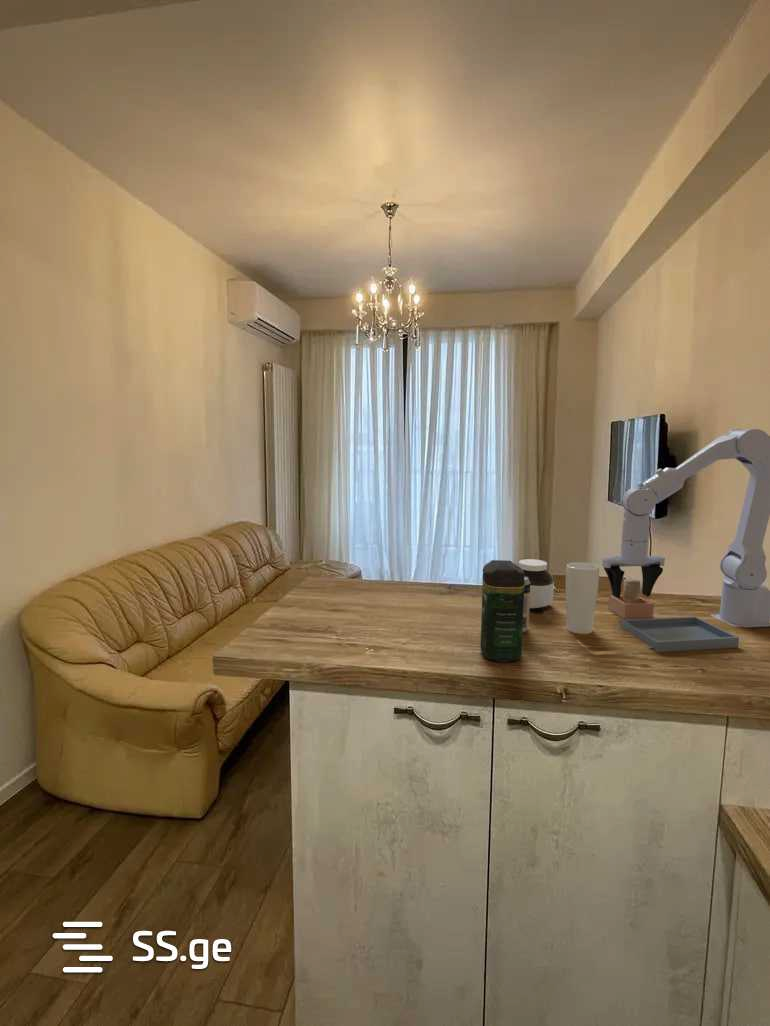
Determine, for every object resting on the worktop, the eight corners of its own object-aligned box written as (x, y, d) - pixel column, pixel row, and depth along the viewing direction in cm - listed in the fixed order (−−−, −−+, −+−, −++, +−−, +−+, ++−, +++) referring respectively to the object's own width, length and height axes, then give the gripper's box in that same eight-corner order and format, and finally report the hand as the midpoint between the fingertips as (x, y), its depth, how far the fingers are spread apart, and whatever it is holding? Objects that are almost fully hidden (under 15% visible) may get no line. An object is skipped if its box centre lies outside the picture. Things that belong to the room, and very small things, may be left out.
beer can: (530, 628, 123) (532, 576, 122) (526, 635, 119) (528, 581, 117) (509, 624, 125) (510, 573, 124) (504, 631, 121) (506, 579, 119)
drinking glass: (598, 638, 117) (602, 570, 115) (565, 636, 118) (568, 568, 116) (592, 627, 124) (596, 562, 121) (561, 625, 125) (564, 561, 123)
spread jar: (556, 608, 137) (559, 562, 135) (536, 619, 129) (538, 571, 127) (513, 598, 145) (515, 555, 143) (491, 609, 137) (492, 563, 135)
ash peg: (632, 610, 133) (634, 578, 132) (641, 615, 130) (643, 582, 129) (619, 611, 133) (621, 579, 132) (627, 615, 129) (629, 583, 128)
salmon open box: (635, 610, 135) (636, 594, 135) (652, 619, 128) (653, 603, 128) (608, 611, 134) (609, 595, 134) (624, 621, 127) (625, 604, 127)
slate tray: (694, 625, 125) (695, 616, 125) (738, 647, 112) (739, 637, 112) (620, 628, 123) (621, 619, 122) (656, 652, 110) (656, 642, 110)
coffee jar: (525, 664, 104) (529, 569, 102) (483, 663, 105) (485, 568, 102) (516, 644, 114) (519, 557, 111) (478, 643, 115) (480, 556, 112)
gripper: (653, 535, 133) (649, 589, 135) (597, 537, 132) (593, 592, 134) (672, 541, 126) (667, 598, 129) (612, 543, 125) (609, 600, 127)
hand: (631, 595), depth 131 cm, fingers open, 7 cm apart
